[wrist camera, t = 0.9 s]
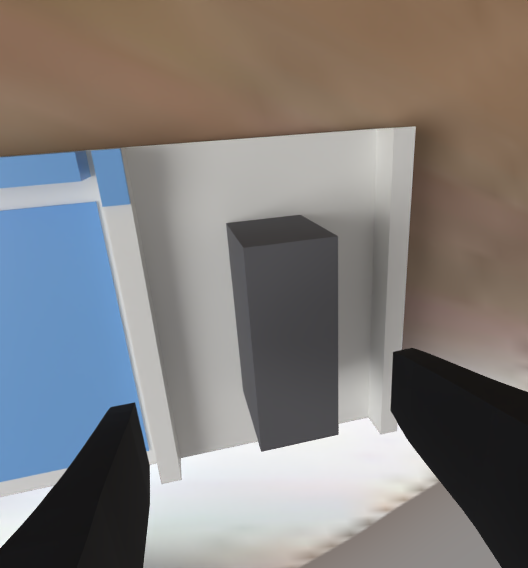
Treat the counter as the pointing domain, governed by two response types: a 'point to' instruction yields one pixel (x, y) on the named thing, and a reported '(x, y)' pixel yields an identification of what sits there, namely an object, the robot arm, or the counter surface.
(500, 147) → the counter surface
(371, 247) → the tray
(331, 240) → the dark gray rectangular block
